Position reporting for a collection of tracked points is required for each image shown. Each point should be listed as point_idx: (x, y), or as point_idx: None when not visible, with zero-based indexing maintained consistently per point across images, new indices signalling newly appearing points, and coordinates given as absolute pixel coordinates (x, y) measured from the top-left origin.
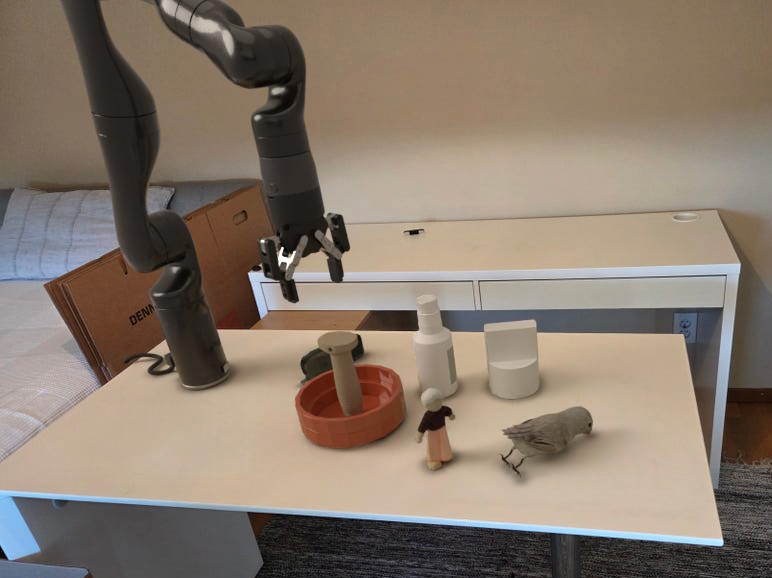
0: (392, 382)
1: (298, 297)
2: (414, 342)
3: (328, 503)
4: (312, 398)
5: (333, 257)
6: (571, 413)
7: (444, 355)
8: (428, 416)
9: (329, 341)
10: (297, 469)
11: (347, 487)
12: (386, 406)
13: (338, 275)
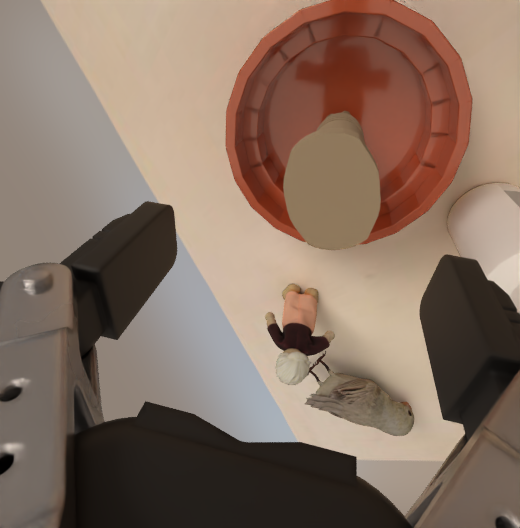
0: (428, 180)
1: (167, 272)
2: (495, 263)
3: (177, 221)
4: (324, 23)
5: (471, 426)
6: (383, 431)
7: None
8: (280, 347)
9: (304, 189)
10: (193, 133)
11: (208, 224)
12: None
13: (426, 339)
